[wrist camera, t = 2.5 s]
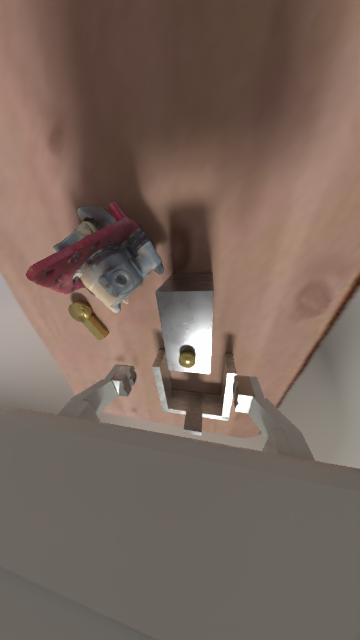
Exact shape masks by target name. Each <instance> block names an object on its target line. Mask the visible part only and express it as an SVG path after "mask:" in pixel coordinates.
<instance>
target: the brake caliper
mask: <svg viewBox="0 0 360 640" xmlns="http://www.w3.org/2000/svg"><path fill="white" fill-rule="evenodd" d="M109 208H110V211H111V214H112V215H111V214H109V213H108V212H107V211H106V210H105V209H104V208H102V207H100V206H98V205H88V206H84V207H81V208H78V210H77V213H78V216H79V218H80V219H81V220H82V221H83V222H82V223H81V224H80V225H79V226H78V227H77V228H76V229H75V230H74V231H73V232H72V233H71V234H70V235H69V236H68V237H67V238H66V239H64V240H63V241H62V242H60V243H58V244H56V245H55V246H54V247H53V250H54V252H55V253H54V254H52V255H51V256H49V257H47V258H45V259H43V260H41V261H39V262H37V263H35V264H33V265H32V266H31V267H30V268H29V269H28V271H27V273H26V276H27V278H28V279H29V280H30V281H32V282H34V283H36V284H39V285H41V286H43V287H47V288H50V289H52V290H55V291H56V292H60V293H64V294H69V293H72V292H73V291H75V290H77V289H80V288H87V289H88V291H89V292H90V293H91V294H92V295H94V296H95V297H97V298H98V299H99V300H100V301H101V302H102V303H103V304H104V305H106V306H107V307H108V308H109V309H110V310H111V311H112V312H114V313H118V312H120V311H121V307H120V303H121V302H124V303H128V302H129V301H128V299H127V298H128V297H129V296H130V295H131V294H132V293H133V292H134V291H136V290H137V289H138V288H139V287H140V286H141V285H142V284H143V280H144V278H146V277H148V276H149V275H150V273H151V270H154V271H155V272H157V273H158V274H162V273H163V272H164V268H163V265H162V261H161V258H160V256H159V255H158V253H157V252H156V250H155V248H154V246H153V244H152V243H151V241H150V240H149V239H148V237H147V236H146V234H145V233H144V231H143V230H142V228H141V227H140V225H139V224H137V223H136V222H135V221H134V220H133V219H132V218H130V217H127V215H126V214H125V212H124V211H123V209H122V208H121V207H120V205H119V204H118V203H117V202H116V201H114V200H113V201H111V202H110V204H109ZM76 254H77V255H76ZM74 255H75V256H74ZM73 256H74V257H73Z"/></svg>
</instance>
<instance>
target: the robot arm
mask: <svg viewBox="0 0 360 640" xmlns="http://www.w3.org/2000/svg"><path fill="white" fill-rule="evenodd" d="M136 378H137V377H136V373H135V372H134V366H128V365H119V364H116V365H115V366H114V367H113V369H112V370H111V371H110V373H109V374H108V375H107V376H106V378H105V379H104V380H101V381H99V382H98V383H96V384H94V385H93V386H91V387H89V388H88V389H86V390H84V391H83V392H81V393H79V394H78V395H76V396H75V397H73V398H72V399H71V400H70V401H69V402H68V403H67V405H66V406H65V407H64V408H63V409H62V410H61V411H60V412H59V414H52V413H46V412H41V411H36V410H30V409H25V408H20V407H12V408H9V409H7V410H4V411H2V412H0V640H360V469H357V468H352V467H347V466H341V465H335V464H329V463H324V462H319V461H315V459H314V457H313V455H312V453H311V451H310V449H309V447H308V445H307V443H306V441H305V439H304V437H303V434H302V433H301V432H300V431H299V430H298V429H297V428H296V427H295V426H294V425H293V424H292V423H291V422H290V421H289V420H288V419H287V418H286V417H285V416H284V415H283V414H282V413H281V412H280V411H279V410H278V409H277V408H276V407H275V406H274V405H273V404H272V403H271V402H270V401H269V400H268V399H267V398H264V396H263V393H262V390H261V387H260V384H259V382H258V379H257V377H251V376H240V375H234V382H233V386H232V390H233V396H234V397H235V399H234V404H235V410H236V411H238V412H244V413H249V415H250V417H251V418H252V420H253V421H254V422H255V424H256V425H257V427H258V428H259V429H260V431H261V432H262V434H263V435H264V436H265V438H266V439H267V441H266V443H265V446H264V448H263V451H258V450H252V449H247V448H241V447H235V446H230V445H224V444H219V443H213V442H208V441H202V440H197V439H191V438H186V437H180V436H175V435H169V434H164V433H158V432H152V431H147V430H141V429H135V428H130V427H124V426H118V425H114V424H108V423H102V422H100V419H99V417H98V416H97V414H98V413H99V412H101V411H102V410H103V409H104V408H105V407H106V406H107V405H109V404H110V403H111V402H112V401H113V400H114V399H115V398H117V397H118V395H119V396H128V395H129V393H130V391H131V389H132V388H131V386H132V385H134V384H135V382H136Z"/></svg>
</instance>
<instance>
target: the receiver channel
mask: <svg viewBox="0 0 360 640" xmlns="http://www.w3.org/2000/svg"><path fill="white" fill-rule="evenodd" d="M152 368H153V372H154V376H155V380H156V384H157V388H158V392H159V397H160V401H161V405H162V409H163V411H166V412H172V413H179V414H186V416H185V424H184V433H188V434H194V435H199V436H201V433H202V417H206V418H213V419H219V420H226V421H228V420H229V414H230V408H231V403H232V397H233V390H232V386H233V382H234V375H237V373H236V368H235V363H234V358H233V354H226V353H225V358H224V367H223V377H222V386H221V395H214V394H205V393H197V392H188V391H180V390H173V388H172V382H171V376H170V370H168V364H167V358H166V352H165V350H164V349H160V350H159V352H158V354H157V357H156V359H155V361H154V364H153V366H152Z"/></svg>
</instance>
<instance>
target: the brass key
mask: <svg viewBox="0 0 360 640" xmlns="http://www.w3.org/2000/svg"><path fill="white" fill-rule="evenodd" d="M69 313H70V315H71V316H72V317H73V318H74V319H75V320H77V321H79V322H82V323H83V324H84V325H85V326H86V327H87V328H88V329H89V331H90V332H91V333H92V334H93V335H94V336H95V337H96V338H97V339H98V340H101V339H103V338H105V337H106V336H107V335H108V334H109V332H108V331H107V329H106V328H105V327H104V326H103V325H102V324H101V323H100V321H99V320H98V319H97V318H96V317H95V316H94V315H93V314H94V312H93V309H92V307H91V306H90V305H89V304H88V303H86V302H84V301H78V302H76V303H74V304H72V305H70V306H69Z"/></svg>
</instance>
